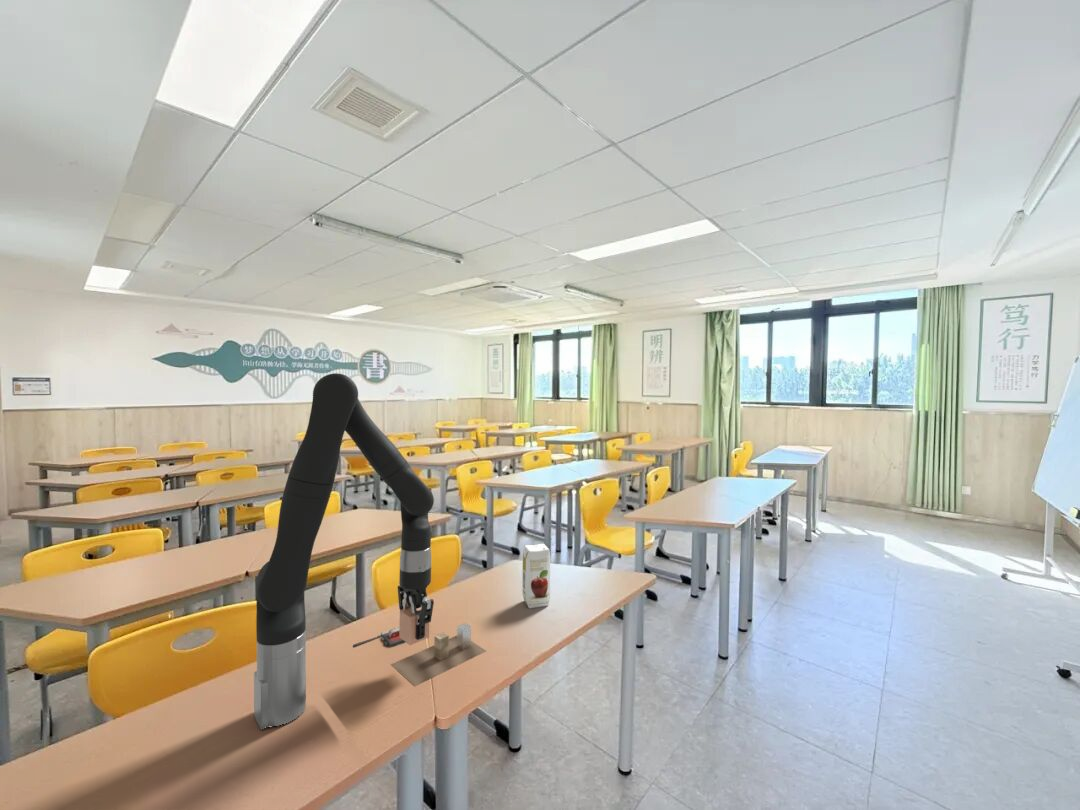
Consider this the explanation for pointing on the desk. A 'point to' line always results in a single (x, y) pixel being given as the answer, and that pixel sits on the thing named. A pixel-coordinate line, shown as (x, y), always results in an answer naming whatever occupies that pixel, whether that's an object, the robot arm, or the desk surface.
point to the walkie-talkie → (387, 638)
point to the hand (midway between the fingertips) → (414, 633)
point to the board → (435, 659)
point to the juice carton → (536, 575)
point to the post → (463, 636)
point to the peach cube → (410, 626)
